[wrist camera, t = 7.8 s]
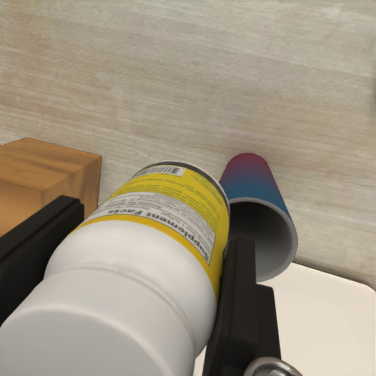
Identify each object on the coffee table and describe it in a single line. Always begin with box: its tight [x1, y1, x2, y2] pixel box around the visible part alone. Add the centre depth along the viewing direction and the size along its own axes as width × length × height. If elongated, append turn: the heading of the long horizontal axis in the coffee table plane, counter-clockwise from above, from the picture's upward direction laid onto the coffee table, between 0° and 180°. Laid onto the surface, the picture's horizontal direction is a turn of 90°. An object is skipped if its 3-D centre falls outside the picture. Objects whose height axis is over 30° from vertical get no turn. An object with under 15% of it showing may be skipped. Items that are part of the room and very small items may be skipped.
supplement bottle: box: [0, 160, 230, 376], centre depth 10 cm, size 5×5×8 cm
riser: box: [0, 138, 102, 237], centre depth 35 cm, size 10×10×12 cm
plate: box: [193, 262, 376, 376], centre depth 42 cm, size 28×28×2 cm
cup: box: [219, 153, 298, 283], centre depth 28 cm, size 7×7×15 cm
